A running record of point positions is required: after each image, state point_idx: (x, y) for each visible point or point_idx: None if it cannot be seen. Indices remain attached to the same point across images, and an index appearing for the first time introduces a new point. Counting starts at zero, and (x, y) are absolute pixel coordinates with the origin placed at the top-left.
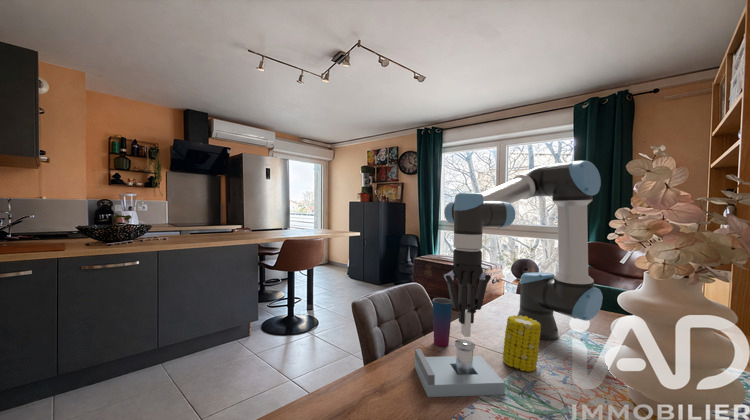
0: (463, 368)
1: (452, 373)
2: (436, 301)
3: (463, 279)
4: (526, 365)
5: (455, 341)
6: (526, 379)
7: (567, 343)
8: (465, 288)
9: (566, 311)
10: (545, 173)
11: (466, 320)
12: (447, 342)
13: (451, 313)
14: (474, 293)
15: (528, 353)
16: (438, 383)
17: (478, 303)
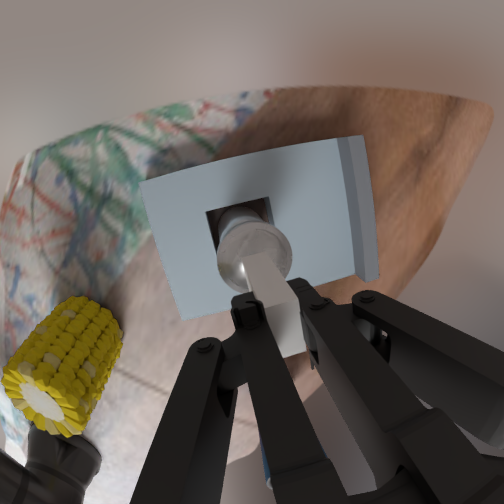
0: (251, 214)
1: (281, 202)
2: None
3: (482, 471)
4: (71, 303)
5: (289, 267)
6: (81, 265)
7: (16, 409)
8: (386, 423)
9: None
10: None
11: (279, 280)
12: None
13: (262, 450)
14: (264, 421)
15: (54, 318)
16: (326, 144)
17: (211, 365)
